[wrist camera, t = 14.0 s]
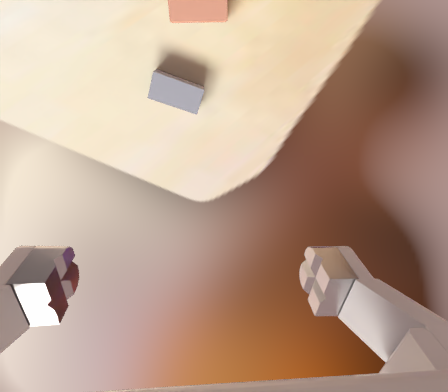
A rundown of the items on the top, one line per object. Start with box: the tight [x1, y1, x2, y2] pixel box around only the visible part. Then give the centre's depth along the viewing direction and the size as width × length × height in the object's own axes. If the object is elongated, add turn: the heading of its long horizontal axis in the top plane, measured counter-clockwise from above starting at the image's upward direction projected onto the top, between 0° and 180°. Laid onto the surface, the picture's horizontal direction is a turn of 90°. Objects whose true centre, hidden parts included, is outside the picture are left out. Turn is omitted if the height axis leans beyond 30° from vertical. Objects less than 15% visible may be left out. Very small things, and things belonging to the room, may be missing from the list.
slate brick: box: [148, 69, 204, 114], centre depth 33 cm, size 6×3×3 cm, turn 70°
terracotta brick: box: [168, 0, 227, 23], centre depth 28 cm, size 6×3×3 cm, turn 91°
